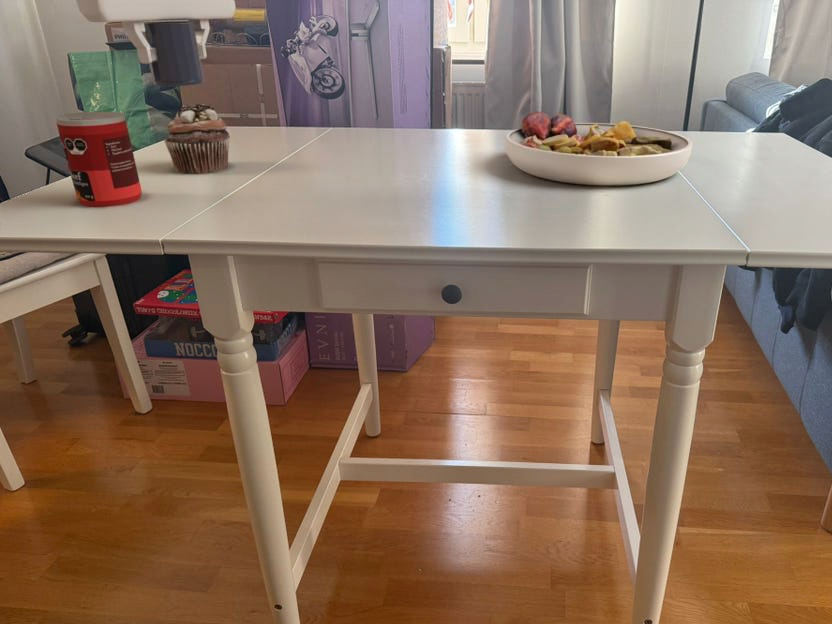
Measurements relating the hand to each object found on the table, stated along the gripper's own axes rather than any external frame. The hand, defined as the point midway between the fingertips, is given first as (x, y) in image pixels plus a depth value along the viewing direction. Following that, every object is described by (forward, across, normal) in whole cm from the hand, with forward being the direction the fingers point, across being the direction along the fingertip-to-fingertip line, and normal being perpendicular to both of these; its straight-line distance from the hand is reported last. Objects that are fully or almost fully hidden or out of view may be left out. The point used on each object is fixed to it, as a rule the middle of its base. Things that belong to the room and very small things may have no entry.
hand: (174, 61), depth 85 cm
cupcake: (+18, -12, -14) cm, 26 cm away
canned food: (+18, +7, -9) cm, 21 cm away
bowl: (+18, -46, +41) cm, 64 cm away
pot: (+3, 0, 0) cm, 3 cm away
